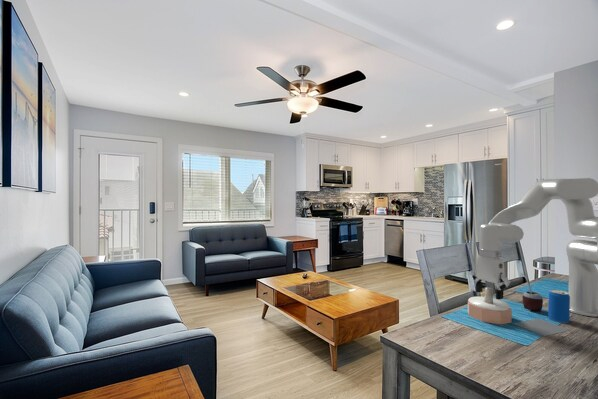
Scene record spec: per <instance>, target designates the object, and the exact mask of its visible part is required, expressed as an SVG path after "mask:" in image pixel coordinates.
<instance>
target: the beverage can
mask: <svg viewBox="0 0 598 399" xmlns="http://www.w3.org/2000/svg"><path fill="white" fill-rule="evenodd" d="M568 294H569V293H568V292H567V291H565V290H560V289H550V290H549V292H548V313H547V315H548V316H547V317H548V319H549V320H551V321H554V322H557V323H564V324H567V323H569V322H570V296H569V295H568Z"/></svg>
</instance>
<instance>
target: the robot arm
mask: <svg viewBox="0 0 598 399" xmlns="http://www.w3.org/2000/svg"><path fill="white" fill-rule="evenodd" d="M597 195H598V181H597V180H595V179H593V178H591V177H584V178H583V177H582V178H547V179H545V178H544V179H541V180H540V179H539V180H538V181H536V182H535V183H534V184H533V185H532V186H531V187H530V188H529V189H528V190H527V192H526V193H525V194H524V195H523V196H522V197H521V198H520V200H518V202H516V203H515V204H513V205H510V206H508V207H507V208H505V209H503V210H501V211H500V212H498V213H496V214H495V215H494V216H493V218H492V219H490V221H489V222H488V223H483V224H480V226H479V240H478V241H479V244H478V246H479V248H478V256H477V257H476V258H477V259H476V262H475V269H472V270H470V271H469V273H470V275H471V277H472V279H473V280H474V281H473V282H474V283H475V293H476V294H477V293H482V292H483V286H484V285H483V284H484V283H483V282H482V281H484V282H489V283H492V284H494V285H495V287H496V289H495V299H497V300H503V299H504V290H506V288H508V287H509V285H510V284H511V280H510V279H509V278H508V277H507V276H506V271H505V264H504V259H503V258H502V257H504V253H501V252H502V249H501V248H502V246H501V245H502V243H511V244H514V243H515V244H516V243H518V242H520V241H521V240H523V238H524V234H525V233H524V231H523V228H521V227H520V226H518V225H517V224H514V223H515V222H518V221H521V220H526V219H530V218H533V217H536V216H538V215H539V214H540V213H541V212H542V211H543V210H544V209H545V207H546V206H547V205H548V204H549V203H550V202H551V201H552V200H560V201H562V203H563V204H564V205H565V207H566V208H565V209H566V214H567V224H568V230H569V233H570V234H571V235H572V236H575V237H578V238H585V239H574V240H573V239H572V240H571V241H569V242H568V244H567V245H566V248H565V249H566V250H565V251H566V256H567V260H568V261H567V262H568V293H569V294H568V295H569V296H570V312H571V313H573V314H577V315H580V316H586V317H592V318H593V317H594V318H595V317H596V318H598V268H597V267H596V265H597V266H598V216H595V212H594V207H593V203H592V201H591V199H593V198H595V197H596V196H597ZM586 239H592V240H586ZM594 240H596V241H594Z"/></svg>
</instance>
